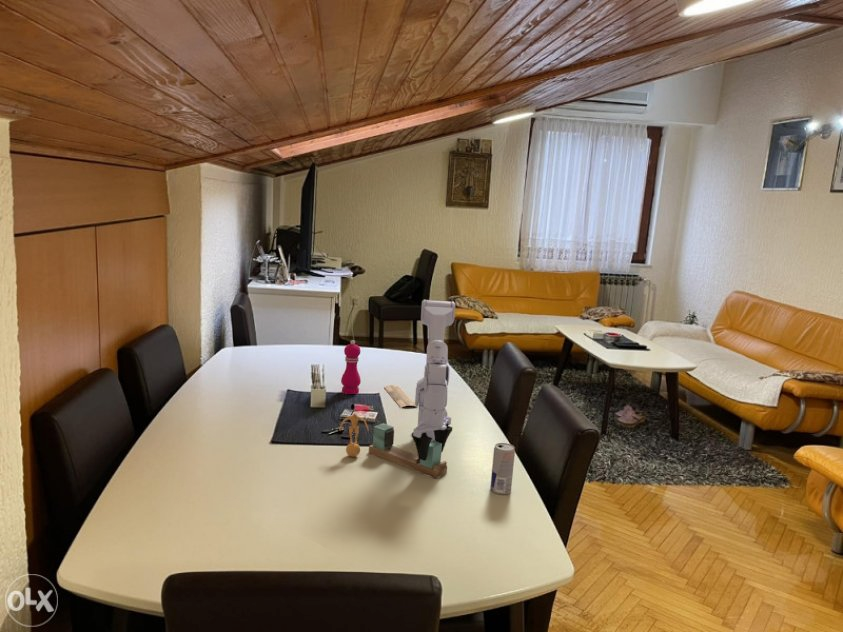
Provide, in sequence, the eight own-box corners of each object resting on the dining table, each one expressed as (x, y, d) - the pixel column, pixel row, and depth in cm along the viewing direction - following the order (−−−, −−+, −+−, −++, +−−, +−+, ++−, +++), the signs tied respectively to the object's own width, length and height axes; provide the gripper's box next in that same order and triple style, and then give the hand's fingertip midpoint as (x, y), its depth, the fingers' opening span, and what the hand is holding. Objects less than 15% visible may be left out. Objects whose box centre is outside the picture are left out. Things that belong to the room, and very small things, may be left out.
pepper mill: (358, 396, 232) (361, 343, 228) (339, 394, 232) (341, 341, 228) (361, 390, 239) (363, 338, 235) (342, 388, 239) (344, 337, 235)
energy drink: (497, 483, 167) (501, 440, 165) (514, 490, 164) (519, 447, 162) (486, 490, 163) (490, 446, 161) (503, 497, 160) (508, 452, 158)
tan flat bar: (417, 409, 223) (417, 405, 223) (397, 410, 221) (398, 405, 221) (399, 389, 245) (399, 385, 245) (381, 389, 243) (381, 385, 243)
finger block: (426, 459, 175) (428, 438, 174) (440, 464, 172) (441, 443, 171) (418, 463, 171) (419, 442, 170) (431, 468, 169) (433, 447, 168)
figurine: (337, 458, 176) (339, 417, 174) (338, 450, 182) (340, 410, 180) (367, 459, 177) (369, 418, 175) (367, 450, 183) (369, 411, 181)
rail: (380, 447, 186) (381, 421, 184) (446, 472, 172) (448, 445, 170) (368, 452, 182) (370, 426, 180) (436, 478, 168) (438, 450, 166)
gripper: (430, 417, 161) (426, 467, 163) (461, 405, 172) (457, 452, 175) (408, 410, 165) (405, 459, 167) (440, 398, 176) (437, 444, 179)
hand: (430, 455), depth 171 cm, fingers open, 7 cm apart
